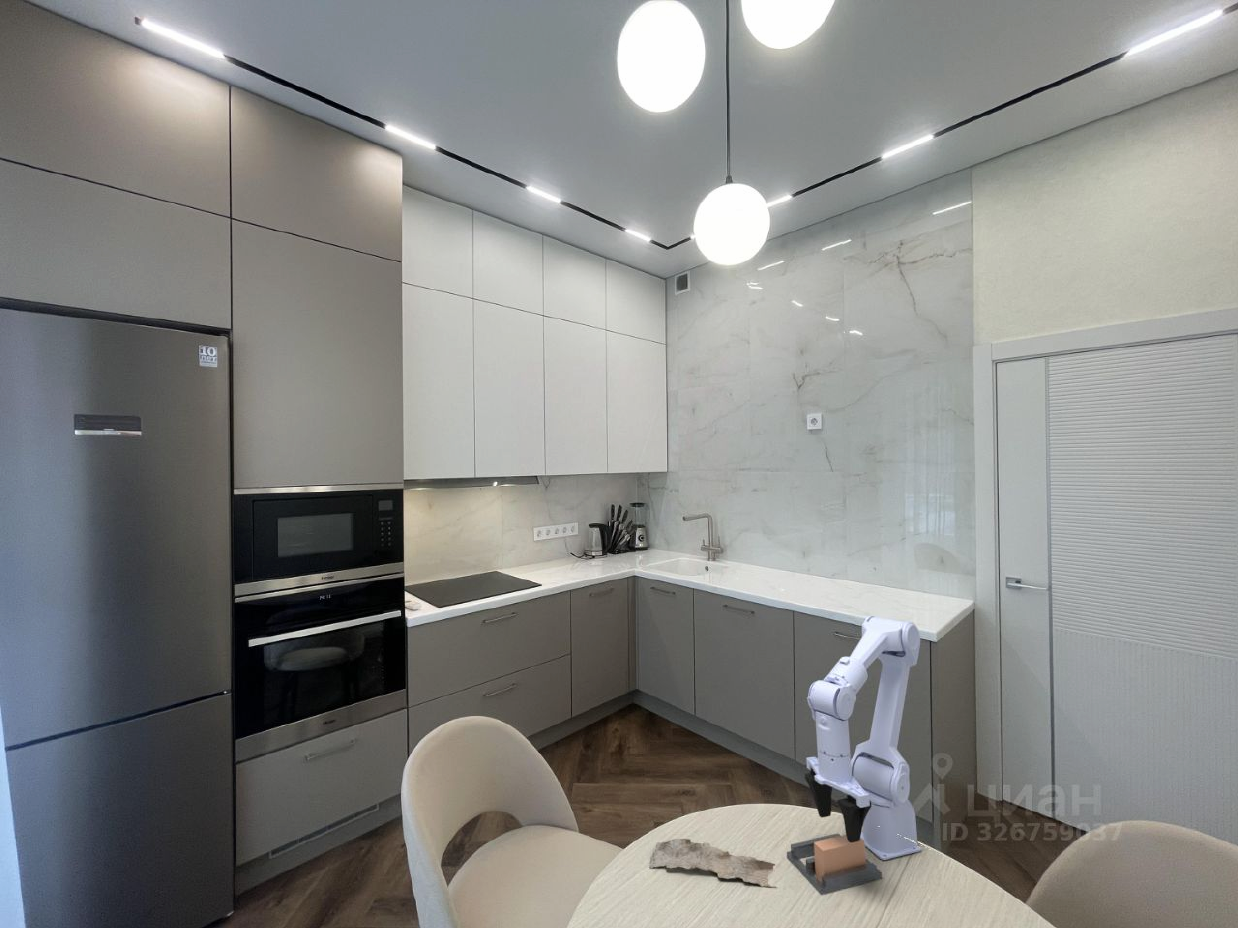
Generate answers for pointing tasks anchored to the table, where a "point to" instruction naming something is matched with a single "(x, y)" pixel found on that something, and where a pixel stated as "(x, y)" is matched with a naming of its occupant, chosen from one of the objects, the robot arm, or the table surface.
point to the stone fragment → (710, 861)
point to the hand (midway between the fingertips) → (838, 827)
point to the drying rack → (835, 879)
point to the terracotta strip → (838, 855)
